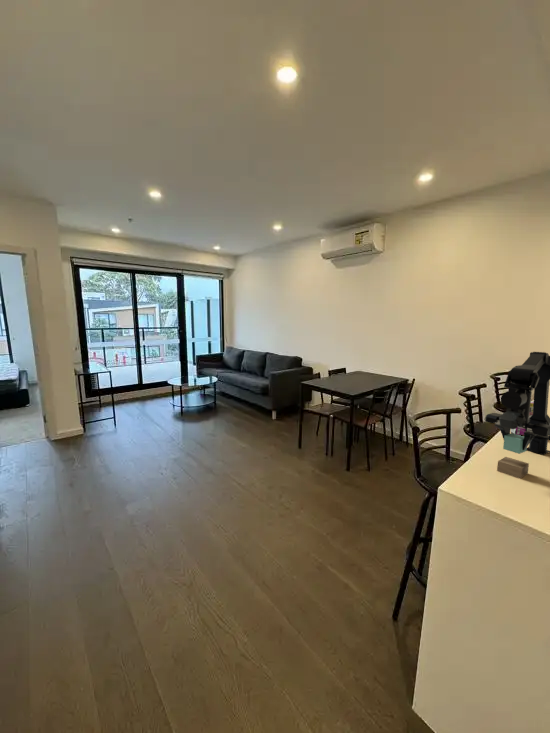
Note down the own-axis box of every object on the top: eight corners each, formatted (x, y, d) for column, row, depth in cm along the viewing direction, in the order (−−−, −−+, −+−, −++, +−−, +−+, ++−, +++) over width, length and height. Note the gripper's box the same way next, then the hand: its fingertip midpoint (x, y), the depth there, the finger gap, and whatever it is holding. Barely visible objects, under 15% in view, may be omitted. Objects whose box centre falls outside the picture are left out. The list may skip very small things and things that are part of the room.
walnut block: (504, 466, 118) (505, 456, 118) (527, 474, 113) (528, 463, 112) (496, 471, 114) (498, 461, 114) (520, 479, 109) (521, 468, 108)
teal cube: (510, 446, 116) (511, 433, 115) (526, 451, 112) (527, 437, 111) (503, 448, 114) (504, 435, 113) (519, 453, 109) (520, 439, 109)
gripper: (478, 400, 115) (474, 442, 117) (541, 413, 99) (535, 461, 100) (495, 397, 120) (491, 437, 122) (557, 409, 104) (551, 455, 106)
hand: (514, 447), depth 112 cm, fingers closed on teal cube, 5 cm apart
